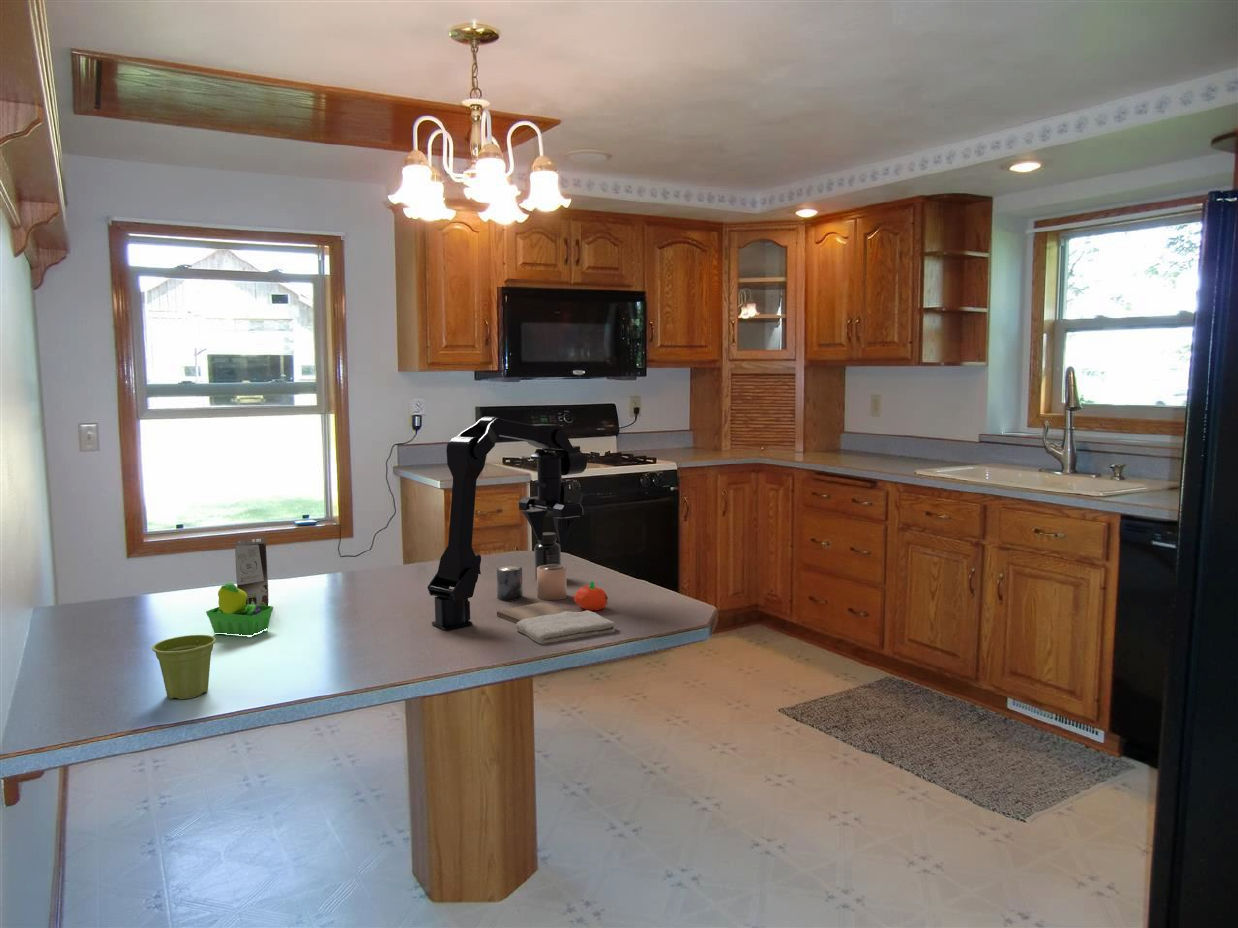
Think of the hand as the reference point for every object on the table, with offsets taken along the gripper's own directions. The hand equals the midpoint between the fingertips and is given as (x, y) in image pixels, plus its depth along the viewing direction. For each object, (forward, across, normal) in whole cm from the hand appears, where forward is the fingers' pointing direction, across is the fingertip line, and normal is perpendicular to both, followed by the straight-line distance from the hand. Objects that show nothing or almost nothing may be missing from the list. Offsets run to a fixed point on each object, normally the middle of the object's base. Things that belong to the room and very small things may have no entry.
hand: (551, 542), depth 204 cm
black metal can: (+13, +6, +8) cm, 16 cm away
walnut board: (+13, -12, +13) cm, 22 cm away
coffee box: (+13, +35, +58) cm, 69 cm away
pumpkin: (+13, -15, 0) cm, 20 cm away
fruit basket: (+13, +18, +66) cm, 70 cm away
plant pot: (+13, -13, +83) cm, 85 cm away
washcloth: (+14, -26, +14) cm, 32 cm away
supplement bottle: (+13, +16, -10) cm, 23 cm away
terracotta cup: (+13, 0, 0) cm, 13 cm away
